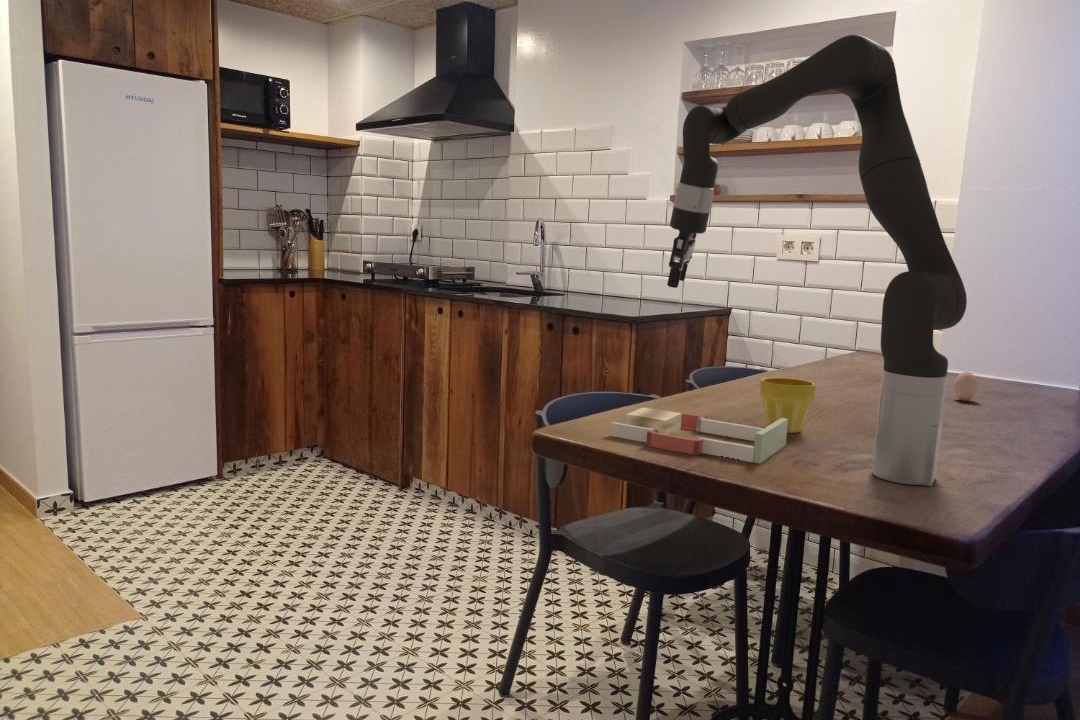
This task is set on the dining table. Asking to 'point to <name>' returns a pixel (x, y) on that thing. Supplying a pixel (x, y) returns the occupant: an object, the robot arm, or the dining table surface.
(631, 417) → the birch block
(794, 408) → the plant pot
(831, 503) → the dining table surface
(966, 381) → the egg
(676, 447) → the trap lane
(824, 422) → the dining table surface
